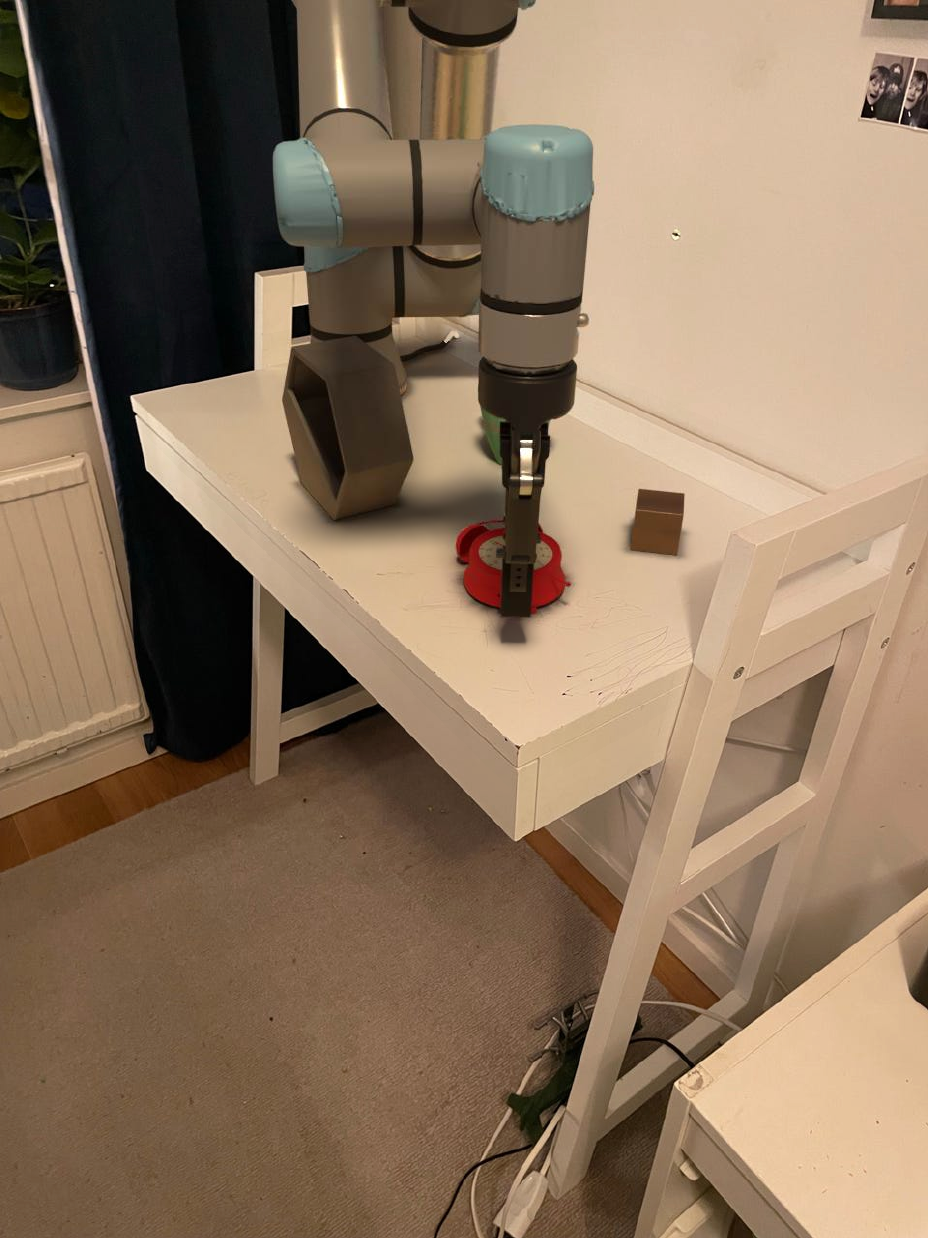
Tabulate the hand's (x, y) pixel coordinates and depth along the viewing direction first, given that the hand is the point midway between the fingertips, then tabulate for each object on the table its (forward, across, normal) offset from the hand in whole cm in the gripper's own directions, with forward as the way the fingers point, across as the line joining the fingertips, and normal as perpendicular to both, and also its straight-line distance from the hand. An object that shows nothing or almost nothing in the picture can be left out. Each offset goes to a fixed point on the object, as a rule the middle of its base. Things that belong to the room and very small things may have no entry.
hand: (515, 612), depth 84 cm
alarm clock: (+4, +13, 0) cm, 13 cm away
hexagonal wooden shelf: (+4, +29, +19) cm, 35 cm away
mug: (+4, +42, 0) cm, 43 cm away
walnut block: (+4, +20, -16) cm, 26 cm away
